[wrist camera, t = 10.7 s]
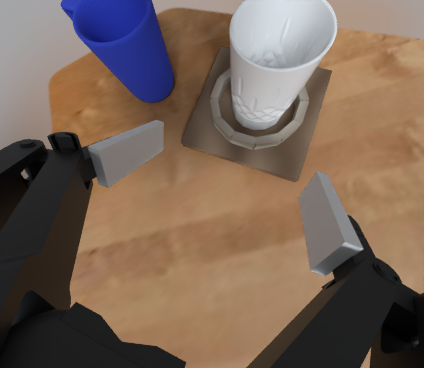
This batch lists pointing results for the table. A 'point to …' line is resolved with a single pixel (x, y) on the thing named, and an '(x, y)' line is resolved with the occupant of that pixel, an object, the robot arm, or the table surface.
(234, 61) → the white cup
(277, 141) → the brown flat ringed piece
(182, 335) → the table surface
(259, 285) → the table surface
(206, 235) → the table surface
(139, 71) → the mug
